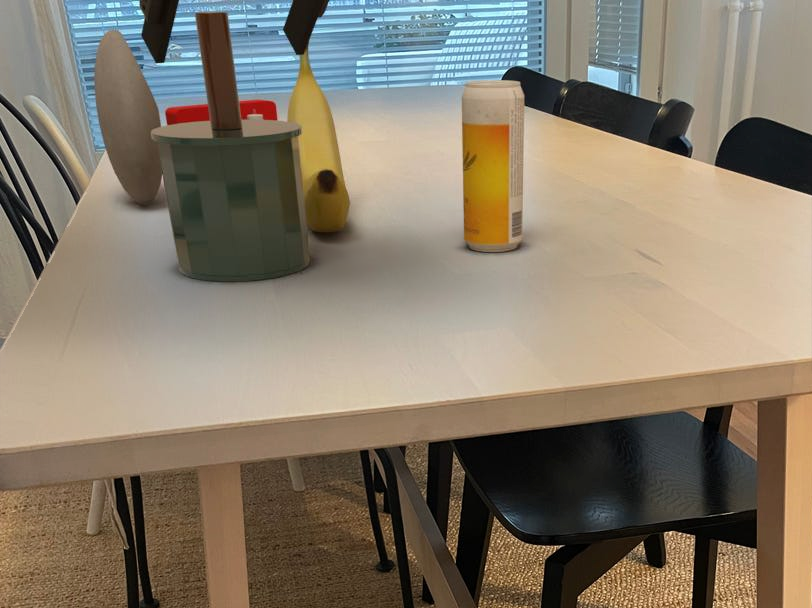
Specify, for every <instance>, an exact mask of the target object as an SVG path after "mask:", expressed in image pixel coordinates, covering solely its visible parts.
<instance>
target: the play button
mask: <svg viewBox="0 0 812 608" xmlns="http://www.w3.org/2000/svg"><path fill="white" fill-rule="evenodd" d="M239 105H240V113H241V120H248V118H247V115H252V114H261V115H263V120H276V121H279V120H278V111H277V110H278V109H277V104H276V103H275V101H272V100H266V99H247V100H239ZM253 110H254V112H253ZM255 111H256V112H255ZM164 113H165V114H164V115H165V120H166V126H167V125H173V124H180V123H189V122H200V121H210V116H209V109H208V103H202V104H201V103H200V104H191V105H180V106H179V105H178V106H170V107H167V108H166V109H165V111H164Z"/></svg>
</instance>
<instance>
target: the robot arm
mask: <svg viewBox="0 0 812 608" xmlns="http://www.w3.org/2000/svg"><path fill="white" fill-rule="evenodd" d="M179 2H180V0H139V2H138V3H139V4H138V5H139V8H140V10H141V13H142V14H143V16H144V19H143V20H144V21H143V24H142V30H141V33H140V35H141V36H140V37H141V38H142V40H143V42H144V45H146V48H147V50H148V51H149V53H150V56H151V57H152V59H153V61H154V63H155V64H164V63H165V61H166V58H167V57H166V56H167V54H168V49H169V44H170V41H171V35H172V32H173V28H174V23H175V20H176V16H177V11H178V7H179ZM329 3H330V0H292V2H291V5H290V9H289V10H288V14H287V15H286V16H287V17H286V19H285V22H284V26H283V28H282V31H283V33H284V35H285V36H286V39H287V40H288V42H289V44H290V46H291V49H293V51H294V54H295V55H296V56H299V55H304V52H305V50H306V47H307V45H308V42H309V43H310V39H311V37H312V34H313V31H314V29H315V26H316V24H317V22H318V19H319V18H322V17H323V15H324V14H325V13H326V11H327V8H328V6H329Z"/></svg>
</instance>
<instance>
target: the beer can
mask: <svg viewBox="0 0 812 608" xmlns="http://www.w3.org/2000/svg"><path fill="white" fill-rule="evenodd" d="M461 127H462V128H461V138H462V140H461V142H462V145H461V146H462V147H461V148H462V195H463V197H462V202H463V203H462V205H463V207H462V208H463V240H464V241H465V242H466V243H467V244H468V247H469V249H471V250H473V251H475V252H483V253H501V252H508V251H513V250H515V249H517V248H518V245H519V243H520V242H521V241H522V240H523V219H524V217H523V216H524V213H523V212H524V156H525V155H524V154H525V153H524V151H525V149H524V147H525V146H524V145H525V144H524V142H525V93H524V91H523V88H522V86H521V82H520V81H517V80H507V79H506V80H505V79H504V80H502V79H486V80H471V81H467V82H465V85H464V89H463V91H462V94H461Z"/></svg>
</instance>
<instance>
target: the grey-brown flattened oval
mask: <svg viewBox="0 0 812 608" xmlns="http://www.w3.org/2000/svg"><path fill="white" fill-rule="evenodd" d="M134 55H135V54H134V53H133V52H132V49H131V48H130V46H129V44H128V42H127V40H126V38H125V37H124V35H123V34H122V32H121V31H120V30H118V29H109V30H107V31H106V32H105V33H104V34H103V35H102V37H101V38H100V40H99V43H98V46H97V50H96V55H95V63H94V73H93V75H94V76H93V84H94V95H95V96H94V97H95V98H94V99H95V107H96V114H97V119H98V120H97V121H98V124H99V130H100V133H101V138H102V141H103V144H104V148H105V151H106V154H107V158H108V160H109V162H110V164H111V165H110V166H112V169H113V171H114V174H115V176H116V178H117V180H118V182H119V183H120V185H121V187H122V188H123V190H124V191H125V192H126V194H127V196H129V197H130V199H132V200H133V201H135V202H136V203H137V204H140V205H149V204H150V203H152V202H153V201H154V200H155V198H156V197H157V195H158V193H159V191H160V187H161V183H162V180H163V175H162V169H161V163H160V157H159V151H158V146H157V142H156V141H153V140H152V138H151V131H152V130H153V129H155V128H158V127H162V122H161V116H160V111H159V106H158V105H157V102H156V99H155V97H154V94H153V92H152V90H151V88H150V86H149V84H148V81H147V79H146V77H145V76H144V72H143V71H142V69H141V67H140V65H139V63H138V61H137V58H136V57H135V56H134Z"/></svg>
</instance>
